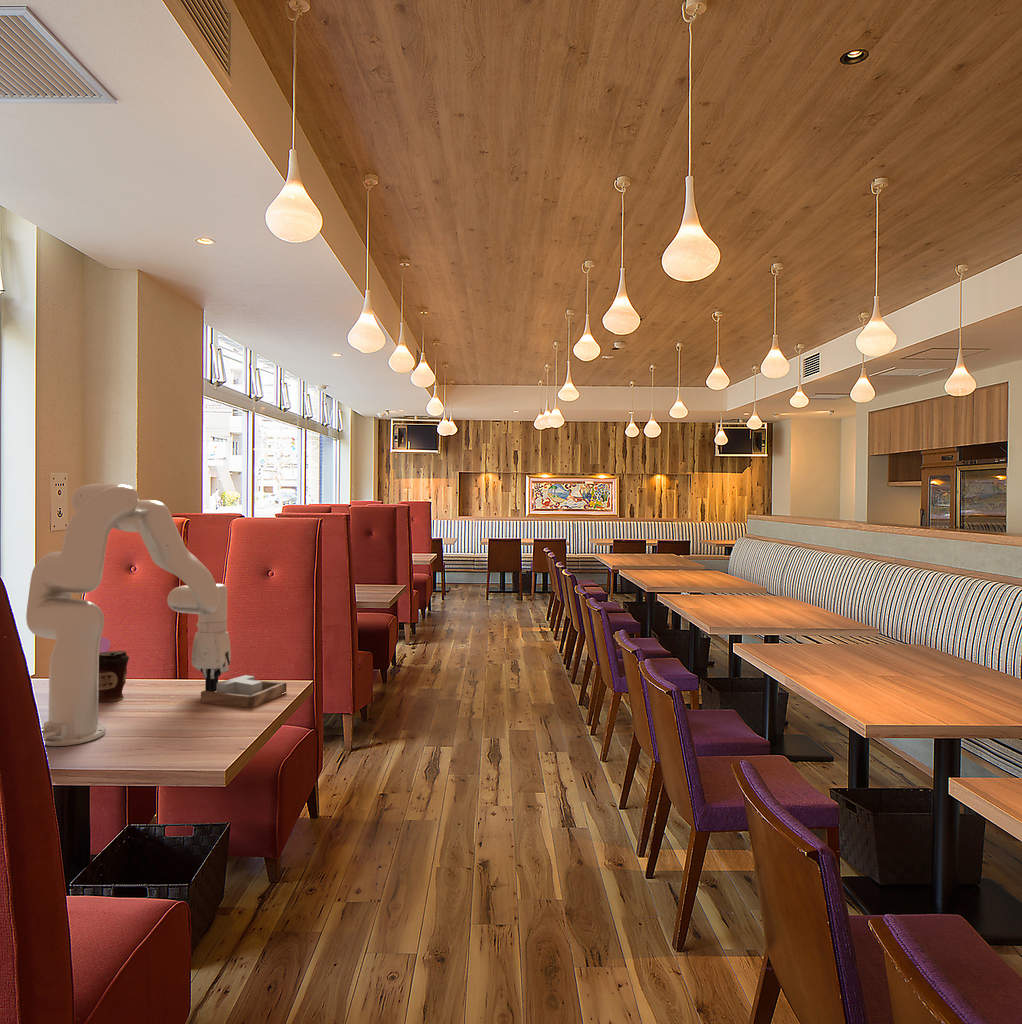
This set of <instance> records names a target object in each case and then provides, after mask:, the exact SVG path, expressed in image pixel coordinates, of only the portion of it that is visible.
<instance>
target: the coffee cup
mask: <svg viewBox="0 0 1022 1024" xmlns="http://www.w3.org/2000/svg"><path fill="white" fill-rule="evenodd" d="M129 659H130V656H129V655H127V651H125V650H113V651H112V650H111V651H108V652H100V653H99V696H98V703H99V702H101V703H104V702H105V703H107V702H108V703H109V702H116V701H121V700H123V699H124V698H125V697H124V694H123V690H124V689H123V688H124V686H125V684H126V683H127V682H126V681H127V674H128V671H127V668H128V664H129Z"/></svg>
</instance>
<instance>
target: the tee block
mask: <svg viewBox="0 0 1022 1024" xmlns="http://www.w3.org/2000/svg"><path fill="white" fill-rule="evenodd" d="M255 680H256V679H255V676H254V675H247V674H245V675H241V676H238V677H234V678H230V679H227V680H223V681H218V683H217V691H216V692H222V693H231V694H241V695H253V694H255V693H258V692H260V691H262V682H260V681H255Z"/></svg>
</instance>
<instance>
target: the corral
mask: <svg viewBox="0 0 1022 1024" xmlns="http://www.w3.org/2000/svg"><path fill="white" fill-rule="evenodd" d="M255 681H260V682H262V691H260V692H258V693H255V694H253V695H241V694H231V693H222V692H217V691H215V692H212V691H205V690H202V691H201V692H200V703H201V704H208V705H217V706H218V705H219V706H226V707H235V708H236V707H237V708H242V709H243V708H245V709H253V708H254V707H257V706H260V705H263V704H265V703H266V702H269V701H271V699H272V700H274V699H276V698H278V697H277V696H279V695H281V694H282V693H284V692H286V693H287V682H282V681H273V680H272V681H271V680H260V679H255ZM281 696H282V695H281ZM275 697H276V698H275ZM279 697H280V696H279ZM273 698H274V699H273Z"/></svg>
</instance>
